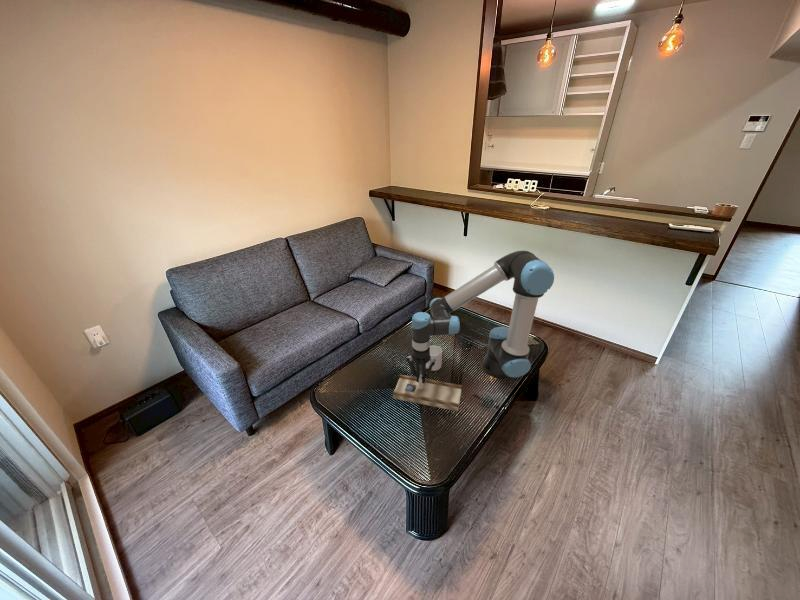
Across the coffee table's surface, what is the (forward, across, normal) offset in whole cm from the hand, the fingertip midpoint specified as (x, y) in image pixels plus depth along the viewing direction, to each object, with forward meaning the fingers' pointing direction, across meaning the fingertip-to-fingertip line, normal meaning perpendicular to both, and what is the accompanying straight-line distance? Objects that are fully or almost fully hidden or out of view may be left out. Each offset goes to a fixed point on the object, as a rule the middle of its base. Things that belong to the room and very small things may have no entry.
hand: (421, 387), depth 140 cm
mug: (+5, -1, -19) cm, 20 cm away
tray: (+4, -3, 0) cm, 5 cm away
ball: (+3, +6, 0) cm, 6 cm away
